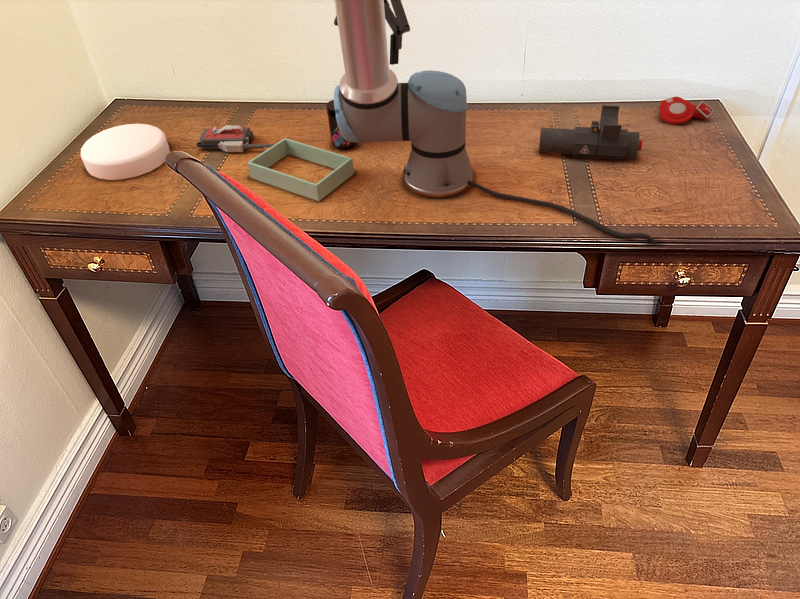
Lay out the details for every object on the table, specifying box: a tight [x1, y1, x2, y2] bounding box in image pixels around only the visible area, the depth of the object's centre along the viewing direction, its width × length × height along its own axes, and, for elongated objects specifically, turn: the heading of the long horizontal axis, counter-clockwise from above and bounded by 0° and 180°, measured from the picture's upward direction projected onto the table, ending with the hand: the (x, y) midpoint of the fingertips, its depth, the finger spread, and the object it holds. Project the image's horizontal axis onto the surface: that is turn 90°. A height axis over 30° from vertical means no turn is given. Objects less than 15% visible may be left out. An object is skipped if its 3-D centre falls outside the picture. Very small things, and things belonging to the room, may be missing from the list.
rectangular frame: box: [246, 137, 355, 202], centre depth 143 cm, size 20×13×4 cm, turn 57°
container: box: [80, 123, 171, 181], centre depth 153 cm, size 20×20×5 cm
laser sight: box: [538, 104, 643, 160], centre depth 142 cm, size 10×22×10 cm, turn 78°
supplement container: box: [325, 99, 359, 151], centre depth 151 cm, size 7×7×10 cm
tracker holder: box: [658, 96, 715, 126], centre depth 156 cm, size 12×4×10 cm
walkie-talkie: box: [195, 124, 275, 153], centre depth 155 cm, size 9×4×20 cm
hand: (370, 61), depth 152 cm, fingers open, 13 cm apart
